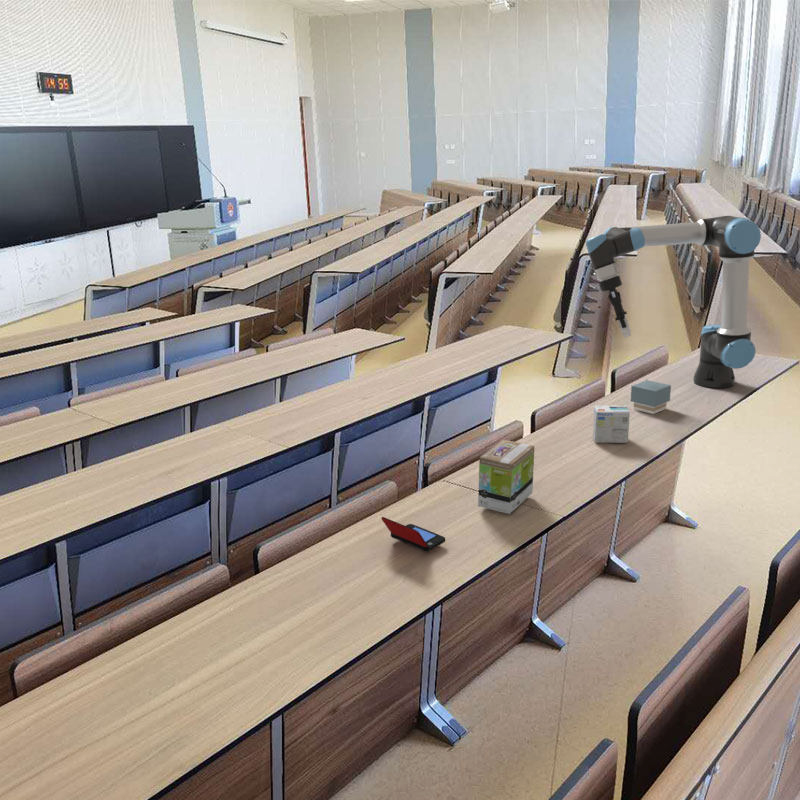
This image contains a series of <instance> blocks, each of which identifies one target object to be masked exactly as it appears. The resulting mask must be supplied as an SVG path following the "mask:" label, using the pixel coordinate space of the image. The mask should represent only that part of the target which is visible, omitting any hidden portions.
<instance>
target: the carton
mask: <svg viewBox="0 0 800 800" xmlns="http://www.w3.org/2000/svg"><path fill="white" fill-rule="evenodd" d="M667 405H668V402H666V403H663V404H661V405H658V406H656V407H652V406H648V405H644V404H640V403H636V402H633V410H636V411H638V412H643V413H648V414H651V415H654V414H657V413H660V412H661V411H664V410H666V409H667Z"/></svg>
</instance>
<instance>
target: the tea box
mask: <svg viewBox="0 0 800 800" xmlns="http://www.w3.org/2000/svg"><path fill="white" fill-rule="evenodd" d="M534 460H535V446H534V445H531V444H527V443H522V442H517V441H512V440H507V439H501V440H500V441H499V442H498V443H496V444H495V445H494V446H492V447H491V448H490V449H488V450H487V451H486V452H484V453H483V454H482V455H481V456H479V460H478V461H479V467H478V497H477V499H478V500H477V506H478V507H480V508H483V509H487V510H492V511H496V512H499V513H504V514H507V515H510V514H511V513H512V512H513V511H514V510H516V508H518V507H519V506H520V505H522V503H524V501H525V500H526V499H527V498H529V497H530V496H531V495H532V494H533V488H534V487H533V485H534V466H535V462H534Z"/></svg>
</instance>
